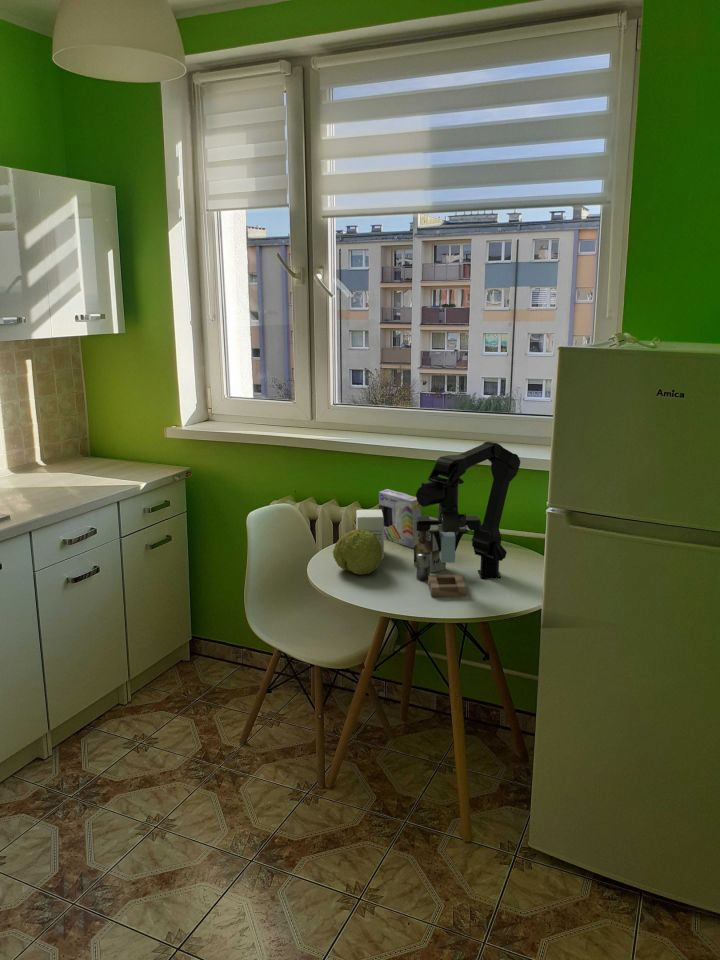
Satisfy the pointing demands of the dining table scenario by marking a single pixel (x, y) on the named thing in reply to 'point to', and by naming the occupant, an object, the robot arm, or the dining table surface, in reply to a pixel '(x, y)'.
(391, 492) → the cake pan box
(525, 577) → the dining table surface
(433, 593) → the socket block
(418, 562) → the round peg
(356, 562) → the fruit
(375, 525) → the supplement box
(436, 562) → the coffee box
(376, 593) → the dining table surface
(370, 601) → the dining table surface
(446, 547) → the square peg
